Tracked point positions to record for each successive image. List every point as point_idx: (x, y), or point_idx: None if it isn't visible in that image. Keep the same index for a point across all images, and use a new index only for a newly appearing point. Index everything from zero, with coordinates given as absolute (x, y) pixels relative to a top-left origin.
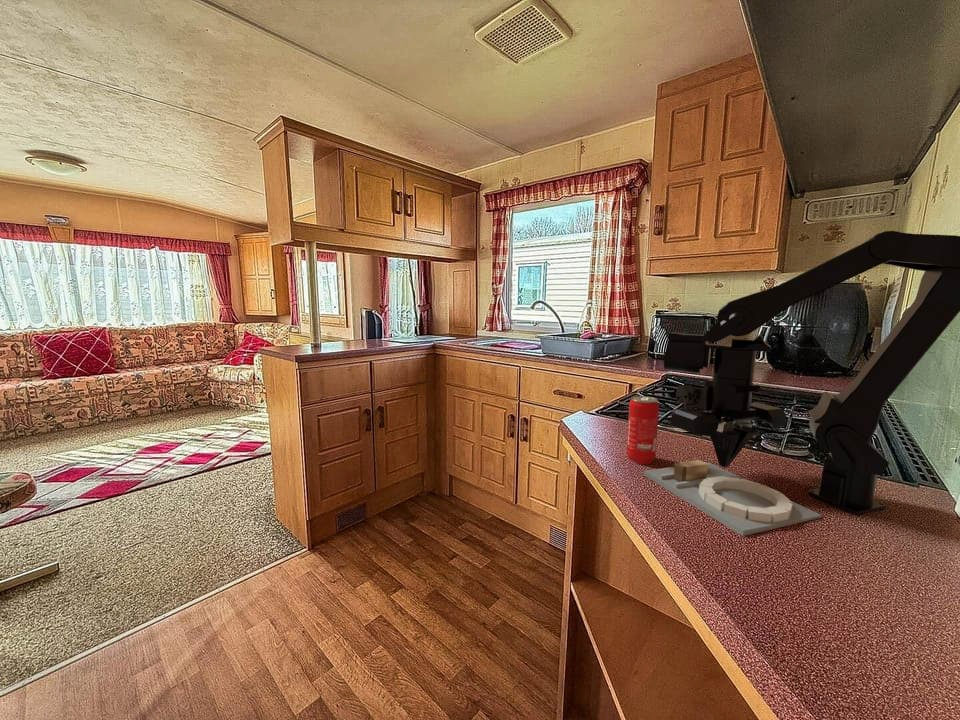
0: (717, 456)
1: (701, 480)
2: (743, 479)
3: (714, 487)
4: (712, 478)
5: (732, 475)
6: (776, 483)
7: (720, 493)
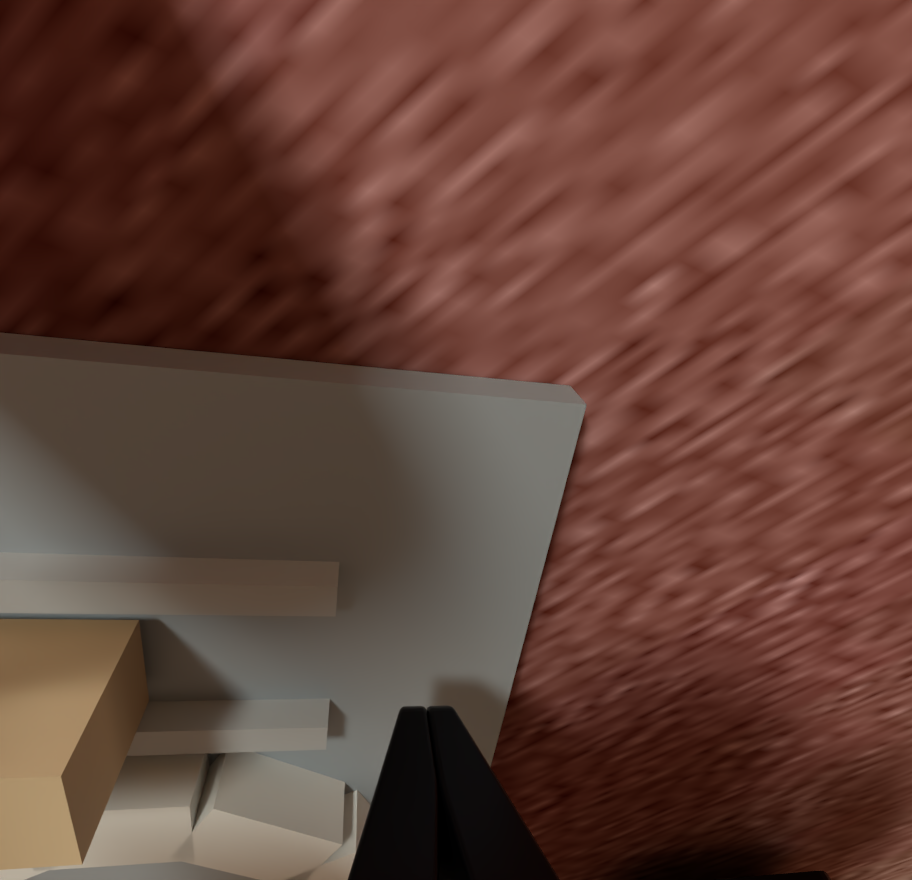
0: (374, 801)
1: None
2: None
3: None
4: None
5: (481, 672)
6: (695, 729)
7: None
